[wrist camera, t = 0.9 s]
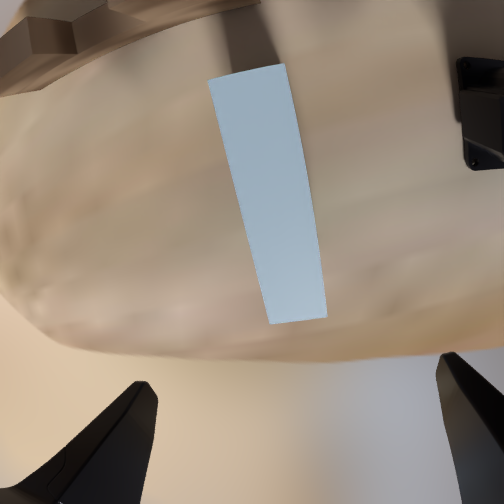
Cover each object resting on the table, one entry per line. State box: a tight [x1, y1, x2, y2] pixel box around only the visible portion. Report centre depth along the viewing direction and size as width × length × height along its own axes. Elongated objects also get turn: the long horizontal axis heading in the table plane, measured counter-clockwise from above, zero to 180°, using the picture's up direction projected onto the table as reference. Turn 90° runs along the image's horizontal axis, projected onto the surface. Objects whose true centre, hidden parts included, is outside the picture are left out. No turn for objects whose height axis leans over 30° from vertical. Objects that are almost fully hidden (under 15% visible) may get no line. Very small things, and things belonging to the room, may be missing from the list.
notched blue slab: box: [208, 63, 327, 324], centre depth 14 cm, size 2×10×6 cm, turn 13°
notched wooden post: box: [0, 0, 261, 97], centre depth 10 cm, size 14×2×6 cm, turn 103°
